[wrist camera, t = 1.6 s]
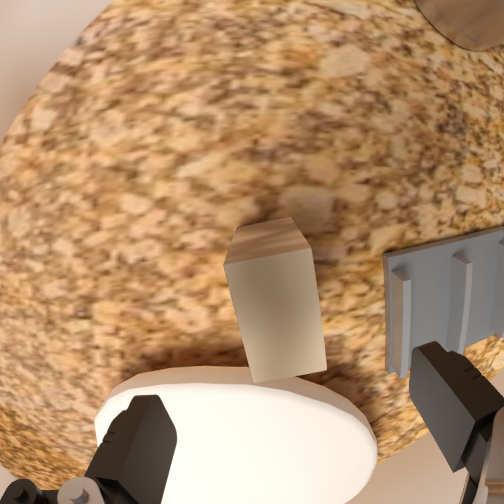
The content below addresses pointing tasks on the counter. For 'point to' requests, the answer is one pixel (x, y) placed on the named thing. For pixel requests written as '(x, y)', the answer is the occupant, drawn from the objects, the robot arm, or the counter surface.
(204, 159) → the counter surface
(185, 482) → the plate
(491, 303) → the rack
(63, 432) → the counter surface
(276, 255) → the block
